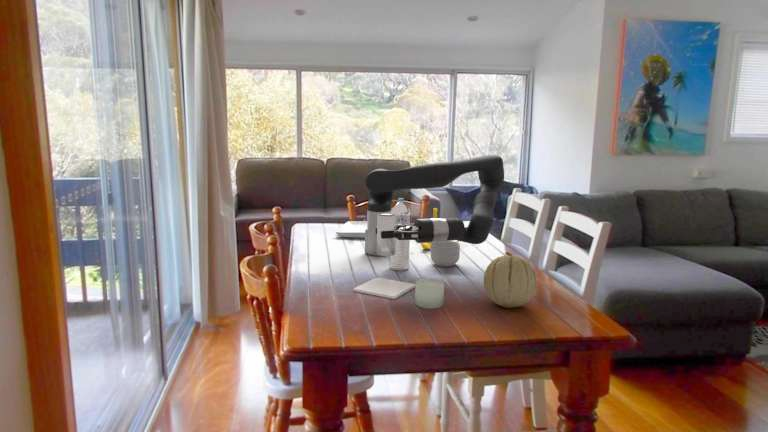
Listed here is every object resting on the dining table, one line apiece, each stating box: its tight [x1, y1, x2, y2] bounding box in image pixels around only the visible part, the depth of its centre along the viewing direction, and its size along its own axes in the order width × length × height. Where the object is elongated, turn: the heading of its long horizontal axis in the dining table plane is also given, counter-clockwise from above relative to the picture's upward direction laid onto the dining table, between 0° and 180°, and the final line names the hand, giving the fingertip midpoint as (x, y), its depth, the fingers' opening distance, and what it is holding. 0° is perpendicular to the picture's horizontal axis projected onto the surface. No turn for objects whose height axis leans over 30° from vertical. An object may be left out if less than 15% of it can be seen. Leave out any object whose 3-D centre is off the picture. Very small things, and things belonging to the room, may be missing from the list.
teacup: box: [429, 240, 461, 268], centre depth 188 cm, size 14×11×8 cm
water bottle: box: [389, 197, 411, 272], centre depth 178 cm, size 7×7×25 cm
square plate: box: [335, 220, 367, 239], centre depth 239 cm, size 27×27×4 cm
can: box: [377, 213, 396, 257], centre depth 154 cm, size 6×6×12 cm
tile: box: [353, 276, 416, 300], centre depth 157 cm, size 14×14×1 cm
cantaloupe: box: [483, 251, 538, 309], centre depth 143 cm, size 15×15×15 cm
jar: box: [414, 277, 445, 309], centre depth 144 cm, size 8×8×6 cm
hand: (378, 232), depth 154 cm, fingers closed on can, 5 cm apart
